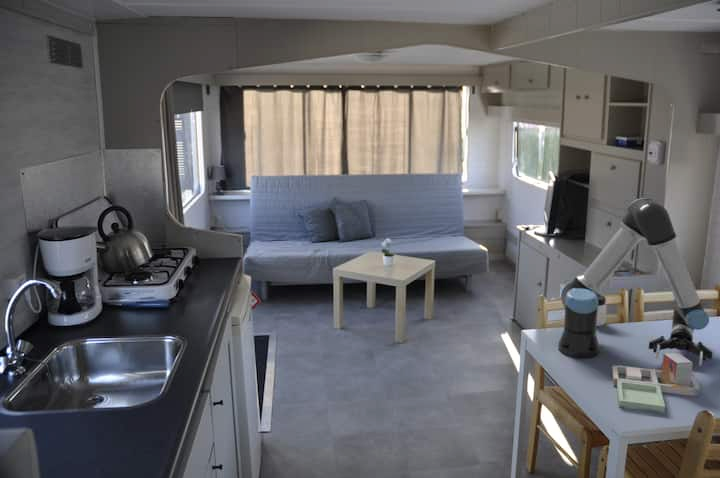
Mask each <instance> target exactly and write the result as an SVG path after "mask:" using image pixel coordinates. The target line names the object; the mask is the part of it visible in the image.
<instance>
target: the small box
mask: <svg viewBox="0 0 720 478" xmlns="http://www.w3.org/2000/svg"><path fill="white" fill-rule="evenodd" d="M661 370H662V372H661V378H660V381H661V382H662V384H668V385H671V384H675V385H683V386H685V387H691V386H690V380H691V374H692V371H693V361H692V360H689V359H688V358H687V357H685V356H684V355H682V353H679V352H668V353H667V352H666V353H663V356H662V365H661Z"/></svg>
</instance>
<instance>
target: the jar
mask: <svg viewBox="0 0 720 478" xmlns="http://www.w3.org/2000/svg"><path fill="white" fill-rule="evenodd" d="M606 299H607V298H606V297H605V296H604V295H602V294H601V295H600V296H599V297H598V307H597V322H596V327H597V326H599V327H602V326H604V325H605V324H606V314H607V313H606V311H607V303H606Z"/></svg>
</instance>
